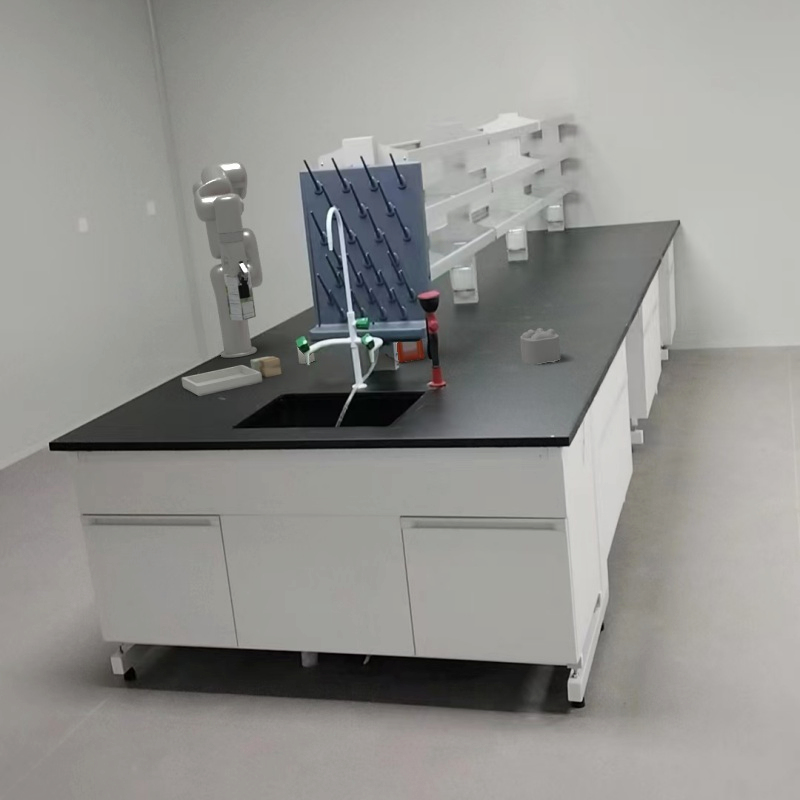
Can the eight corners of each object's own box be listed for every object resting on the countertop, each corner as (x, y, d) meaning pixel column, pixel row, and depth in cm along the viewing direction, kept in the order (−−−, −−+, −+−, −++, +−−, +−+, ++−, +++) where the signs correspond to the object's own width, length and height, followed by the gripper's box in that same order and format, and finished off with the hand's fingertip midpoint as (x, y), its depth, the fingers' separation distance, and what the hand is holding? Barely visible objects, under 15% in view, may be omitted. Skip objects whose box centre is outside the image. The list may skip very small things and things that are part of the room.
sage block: (252, 372, 328) (250, 359, 327) (269, 368, 331) (268, 356, 330) (255, 374, 325) (253, 361, 324) (273, 370, 327) (272, 358, 326)
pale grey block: (296, 362, 334) (294, 344, 333) (310, 359, 337) (308, 341, 335) (303, 364, 330) (300, 346, 329) (317, 361, 332) (314, 343, 331)
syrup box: (243, 316, 318) (236, 269, 314) (256, 317, 314) (250, 269, 310) (229, 320, 313) (222, 273, 310) (243, 320, 310) (236, 273, 306)
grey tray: (183, 387, 317) (181, 377, 316) (243, 374, 326) (242, 364, 325) (199, 396, 303) (197, 386, 302) (262, 382, 312) (261, 372, 311)
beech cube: (260, 374, 323) (258, 359, 321) (275, 371, 325) (273, 356, 324) (266, 377, 318) (264, 361, 317) (281, 374, 321) (279, 358, 319)
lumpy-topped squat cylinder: (529, 366, 296) (527, 336, 294) (516, 357, 309) (514, 329, 307) (564, 361, 298) (562, 331, 296) (549, 352, 310) (547, 324, 308)
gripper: (209, 238, 313) (218, 296, 317) (230, 241, 298) (239, 301, 303) (232, 235, 316) (240, 292, 321) (254, 237, 302) (262, 297, 306)
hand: (239, 296), depth 312 cm, fingers closed on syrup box, 7 cm apart
